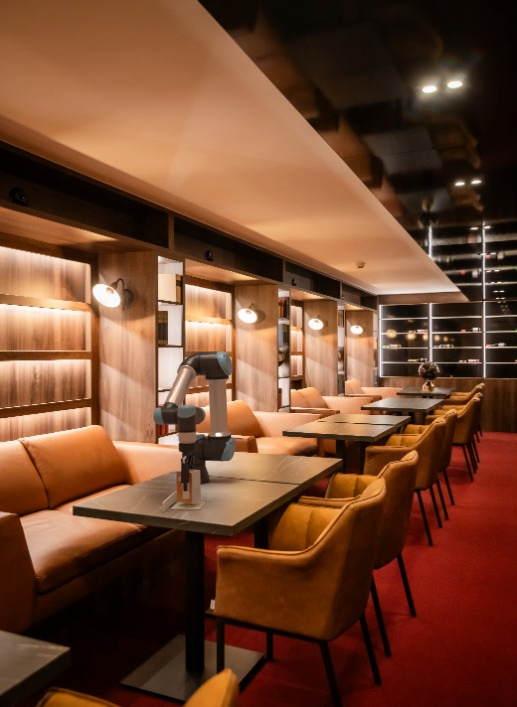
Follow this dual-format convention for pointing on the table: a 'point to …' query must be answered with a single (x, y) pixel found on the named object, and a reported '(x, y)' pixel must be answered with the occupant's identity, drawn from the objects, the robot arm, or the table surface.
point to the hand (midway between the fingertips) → (188, 496)
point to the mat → (188, 506)
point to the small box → (193, 487)
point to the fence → (169, 501)
